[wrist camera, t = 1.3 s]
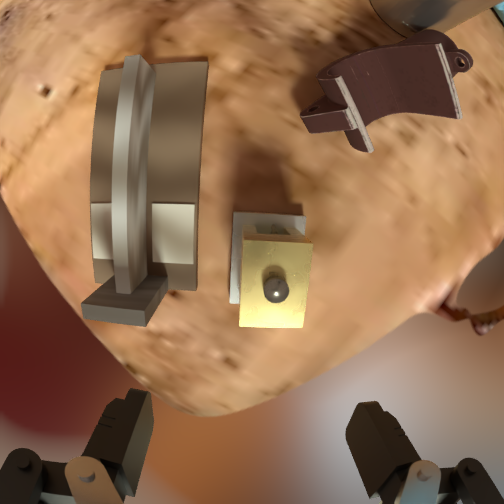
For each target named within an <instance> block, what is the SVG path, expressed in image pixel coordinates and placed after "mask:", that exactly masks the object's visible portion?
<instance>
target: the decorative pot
mask: <svg viewBox="0 0 504 504" xmlns="http://www.w3.org/2000/svg"><path fill="white" fill-rule="evenodd" d="M493 8H494V10H495V11H496V13H497V14H498V16H499V17H500V19H501V20H502V22H503V25H504V2H502V3H500V4H498V5H496V6H494V7H493Z"/></svg>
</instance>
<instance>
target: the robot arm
mask: <svg viewBox="0 0 504 504" xmlns="http://www.w3.org/2000/svg"><path fill="white" fill-rule="evenodd" d="M370 1H371V4H372V6H373V7H374V9H375V11H376V12H377V13H378V15H379V16H380V17H381V18H382V19H383V20H384V21H385V22H386V23H387V24H388V25H389V26H390V27H391V28H393V29H394V30H395V31H397V32H398V33H400V34H401V35H403V36H405V37H407V38H409V37H411V36H413V35H415V34H417V33H419V32H421V31H423V30H426V29H433V30H437V31H440V32H442V33H445V32H446V31H448V30H450V29H452V28H454V27H456V26H457V25H459V24H461V23H463V22H465V21H467V20H468V19H470V18H472V17H474V16H476V15H478V14H480V13H482V12H484V11H486V10H488V9H490V8H492V7H494V6H496V5H498V4H500V3H502V2H504V0H370ZM153 424H154V418H153V410H152V401H151V393H150V392H148V391H143V390H138V389H133V388H130V390H129V391H128V393H127V395H126V398H125V400H123V399H119V398H115V399H114V400H113V401H112V402H110V403H109V404H108V405H107V406H106V408H105V410H104V412H103V414H102V417H100V419H99V422H98V425H96V428H95V430H94V432H93V434H92V436H91V438H90V440H89V442H88V444H87V446H86V448H85V450H84V452H83V454H82V455H81V456H80V457H76V458H73V459H72V460H70V461H69V462H68V463H59V462H50V461H44V460H41V459H40V457H39V456H38V455H37V454H36V453H35V452H34V451H32V450H30V449H26V448H19V449H15V450H13V451H12V452H11V453H10V454H9V455H8V457H7V458H6V460H5V462H4V464H3V466H2V468H1V470H0V504H124V500H125V496H126V495H128V496H132V497H135V494H136V490H137V486H138V482H139V478H140V475H141V471H142V467H143V464H144V460H145V456H146V453H147V449H148V446H149V442H150V438H151V435H152V431H153ZM346 441H347V444H348V446H349V449H350V451H351V454H352V456H353V459H354V461H355V463H356V466H357V468H358V471H359V474H360V476H361V478H362V481H363V483H364V486H365V488H366V491H367V494H368V496H369V498H370V499H371V498H375V497H379V496H380V498H381V501H380V503H379V504H457V502H458V501H459V500H460V499H461V500H462V502H463V504H504V499H503V498H502V496H501V494H500V493H499V491H498V489H497V488H496V486H495V484H494V483H493V481H492V480H491V478H490V476H489V475H488V473H487V472H486V470H485V469H484V467H483V466H482V464H481V463H480V462H479V461H478V460H476V459H473V458H465V459H463V460H461V461H460V462H459V463H458V465H457V466H456V467H452V468H439V467H438V466H437V465H436V464H434V463H433V462H430V461H427V460H421V458H420V457H419V455H418V454H417V452H416V450H415V448H414V447H413V445H412V444H411V442H410V440H409V439H408V437H407V436H406V435H405V432H404V430H403V429H401V426H400V424H399V422H398V421H397V419H396V418H395V417H394V416H392V415H391V414H390V413H389V412H387V411H385V412H384V411H383V409H382V407H381V406H380V404H379V403H378V402H377V401H371V402H362V403H358V405H357V406H356V408H355V410H354V413H353V415H352V417H351V419H350V421H349V423H348V426H347V428H346Z"/></svg>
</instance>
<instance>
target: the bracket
mask: <svg viewBox="0 0 504 504" xmlns="http://www.w3.org/2000/svg"><path fill="white" fill-rule="evenodd" d="M461 59H463V61H464V63H465V64H464V63H462V62H461ZM472 65H473V59H472V57H471V55H470V54H469V53H468V52H467V51H465V50H462V49H458V48H457V46H456V45H455V43H454V42H453V41H452V40H451V39H450V38H449V37H448V36H447V35H445V34H444V33H442V32H440V31H437V30H433V29H426V30H423V31H421V32H419V33H417V34H415V35H413V36H411V37H409V38H407V39H405V40H403V41H402V42H400V43H398V44H393V45H384V46H379V47H374V48H370V49H366V50H363V51H359V52H356V53H353V54H351V55H348V56H346V57H343V58H341V59H339V60H337V61H335V62H333V63H331V64H329V65H328V66H326V67H325V68H323V69H322V70H321V71H319V72H318V74H317V75H316V78H317V79H318V81H319V83H320V85H321V87H322V89H323V90H324V92H325V95H324V96H322V97H321V98H320V99H318V100H317V101H315V102H314V103H312V104H311V105H310V106H308V107H307V108H305V109H304V110H303V111H302V112H301V113H300V117H301V119H302V120H303V122H304V124H305V126H306V128H307V129H308V131H309V133H312V134H315V133H324V132H333V131H344V132H345V134H346V136H347V138H348V141H349V143H350V145H351V146H352V147H353V148H355V149H357V150H359V151H362V152H367V153H371V152H373V151H374V148H373V145H372V142H371V140H370V137H369V135H368V133H367V130H366V128H365V127H366V126H367V125H368V124H370V123H371V122H373V121H375V120H377V119H379V118H381V117H384V116H387V115H391V114H396V113H417V114H425V115H433V116H440V117H447V118H453V119H462V118H463V117H462V112H461V108H460V103H459V99H458V96H457V92H456V88H455V84H454V81H453V77H454V76H455V75H456V74H457V73H458V72H467V71H468V70H469V69H470V68H471V67H472Z"/></svg>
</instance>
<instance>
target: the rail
mask: <svg viewBox="0 0 504 504" xmlns="http://www.w3.org/2000/svg"><path fill="white" fill-rule="evenodd" d="M208 69H209V64H208V62H177V63H162V64H151V65H149V64H148V63H147V62H146V61H145V60H144V58H143V57H142V56H141V55H133V56H126V57H125V61H124V66H123V68H119V69H112V70H106V71H102V72H101V77H100V83H99V89H98V95H97V102H96V110H95V118H94V128H93V139H92V153H91V175H90V219H91V242H92V256H93V267H94V277H95V283H101V284H103V285H102V286H100V287H99V288H98V289H97V290H96V291H95V292H93V293H92V294H91V295H90V296H89V297H88V298H86V299H85V300H84V301H83V302H82V303H81V307H82V313H83V318H84V319H90V320H97V321H104V322H111V323H118V324H126V325H134V326H143V327H146V326H147V324H148V322H149V321H150V319H151V317H152V316H153V314H154V312H155V311H156V309H157V307H158V306H159V304H160V302H161V301H162V299H163V297H164V296H165V294H166V292H167V291H168V289H173V290H188V291H196V290H197V269H198V215H199V189H200V168H201V151H202V136H203V123H204V111H205V99H206V89H207V79H208Z"/></svg>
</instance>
